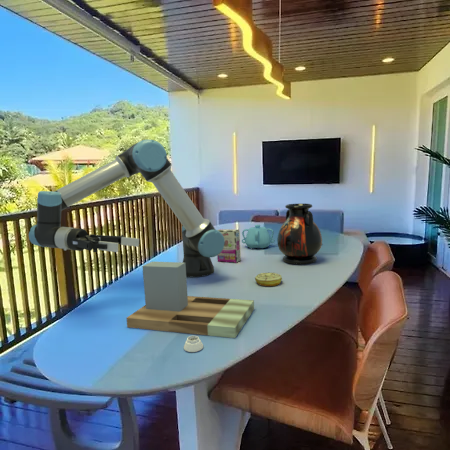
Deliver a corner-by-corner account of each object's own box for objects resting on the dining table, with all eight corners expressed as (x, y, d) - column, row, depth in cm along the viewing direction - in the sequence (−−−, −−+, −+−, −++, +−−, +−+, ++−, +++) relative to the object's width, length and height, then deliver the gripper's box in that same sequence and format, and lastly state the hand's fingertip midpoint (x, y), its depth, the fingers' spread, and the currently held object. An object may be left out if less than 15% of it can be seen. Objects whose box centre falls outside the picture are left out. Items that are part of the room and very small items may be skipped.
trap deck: (161, 302, 132) (160, 294, 132) (254, 309, 122) (253, 300, 121) (127, 327, 112) (126, 317, 111) (235, 338, 101) (234, 327, 101)
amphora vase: (269, 260, 187) (267, 205, 183) (303, 254, 197) (302, 201, 193) (295, 269, 168) (294, 207, 164) (331, 262, 178) (331, 204, 174)
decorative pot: (277, 247, 217) (277, 224, 215) (254, 251, 209) (253, 227, 207) (261, 243, 231) (261, 222, 229) (239, 247, 223) (238, 224, 222)
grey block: (154, 302, 124) (151, 261, 122) (187, 304, 120) (185, 262, 118) (145, 308, 118) (142, 266, 116) (180, 311, 114) (177, 267, 112)
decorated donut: (271, 278, 156) (271, 269, 156) (287, 284, 147) (287, 275, 146) (250, 282, 152) (250, 273, 151) (265, 289, 142) (264, 279, 142)
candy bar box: (241, 261, 188) (239, 229, 186) (236, 263, 184) (235, 230, 182) (221, 259, 193) (220, 228, 191) (217, 261, 189) (215, 230, 187)
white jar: (180, 348, 97) (190, 355, 93) (179, 337, 96) (189, 344, 92) (196, 342, 100) (206, 349, 96) (196, 332, 99) (206, 338, 95)
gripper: (94, 245, 139) (145, 251, 134) (46, 255, 115) (106, 262, 110) (94, 225, 138) (146, 230, 133) (46, 231, 114) (107, 237, 109)
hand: (128, 245), depth 121 cm, fingers open, 13 cm apart
